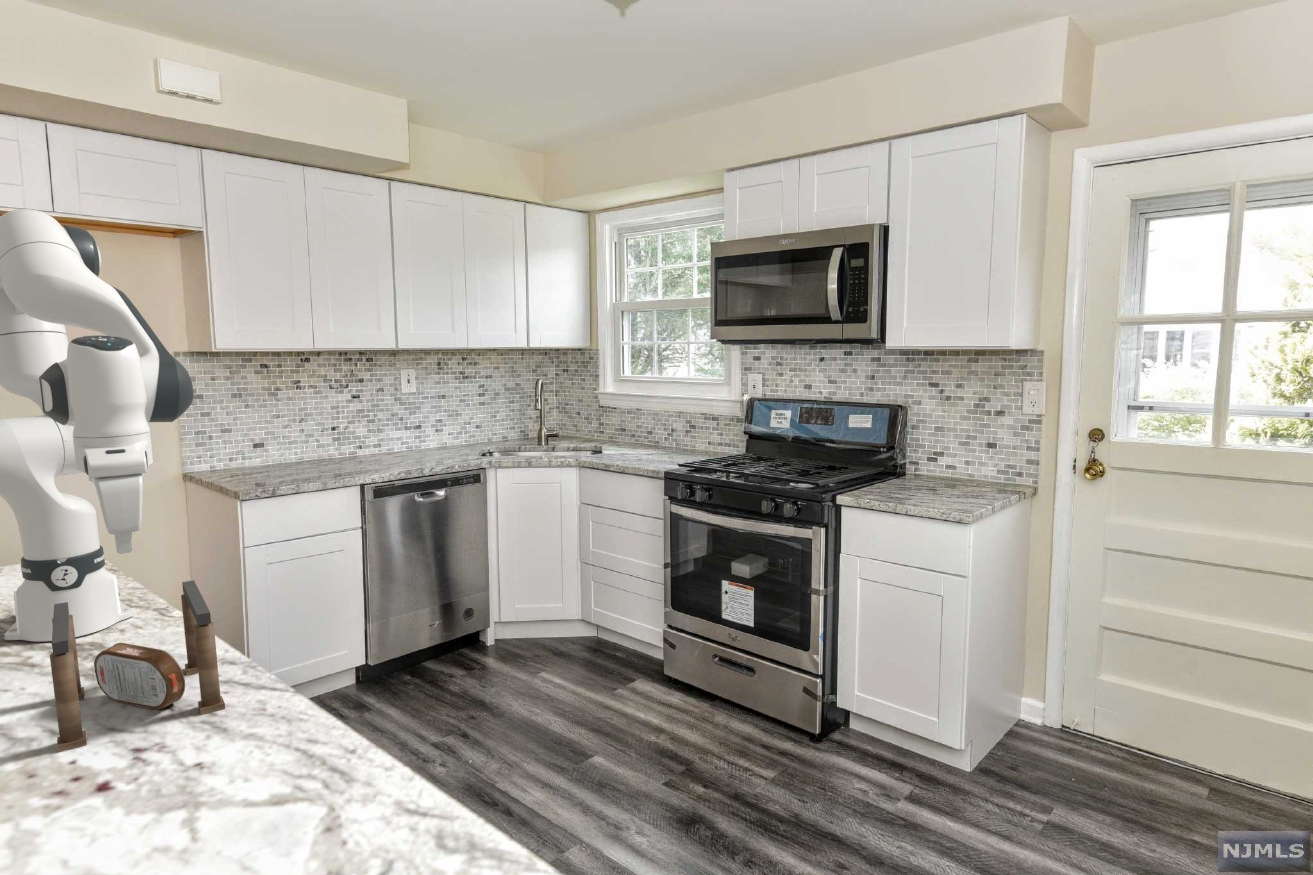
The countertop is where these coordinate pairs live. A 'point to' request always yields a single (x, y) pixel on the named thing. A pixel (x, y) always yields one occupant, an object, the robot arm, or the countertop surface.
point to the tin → (139, 676)
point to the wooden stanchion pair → (71, 692)
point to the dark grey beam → (196, 603)
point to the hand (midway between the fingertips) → (124, 551)
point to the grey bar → (60, 629)
